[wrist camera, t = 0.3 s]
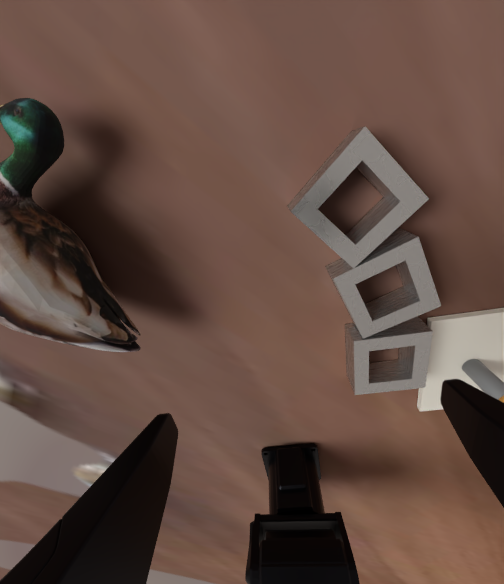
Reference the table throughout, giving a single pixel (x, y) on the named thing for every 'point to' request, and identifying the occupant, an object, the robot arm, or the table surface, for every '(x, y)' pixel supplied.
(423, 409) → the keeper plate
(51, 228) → the decorative duck model
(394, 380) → the end link
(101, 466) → the table surface
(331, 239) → the grey square frame
